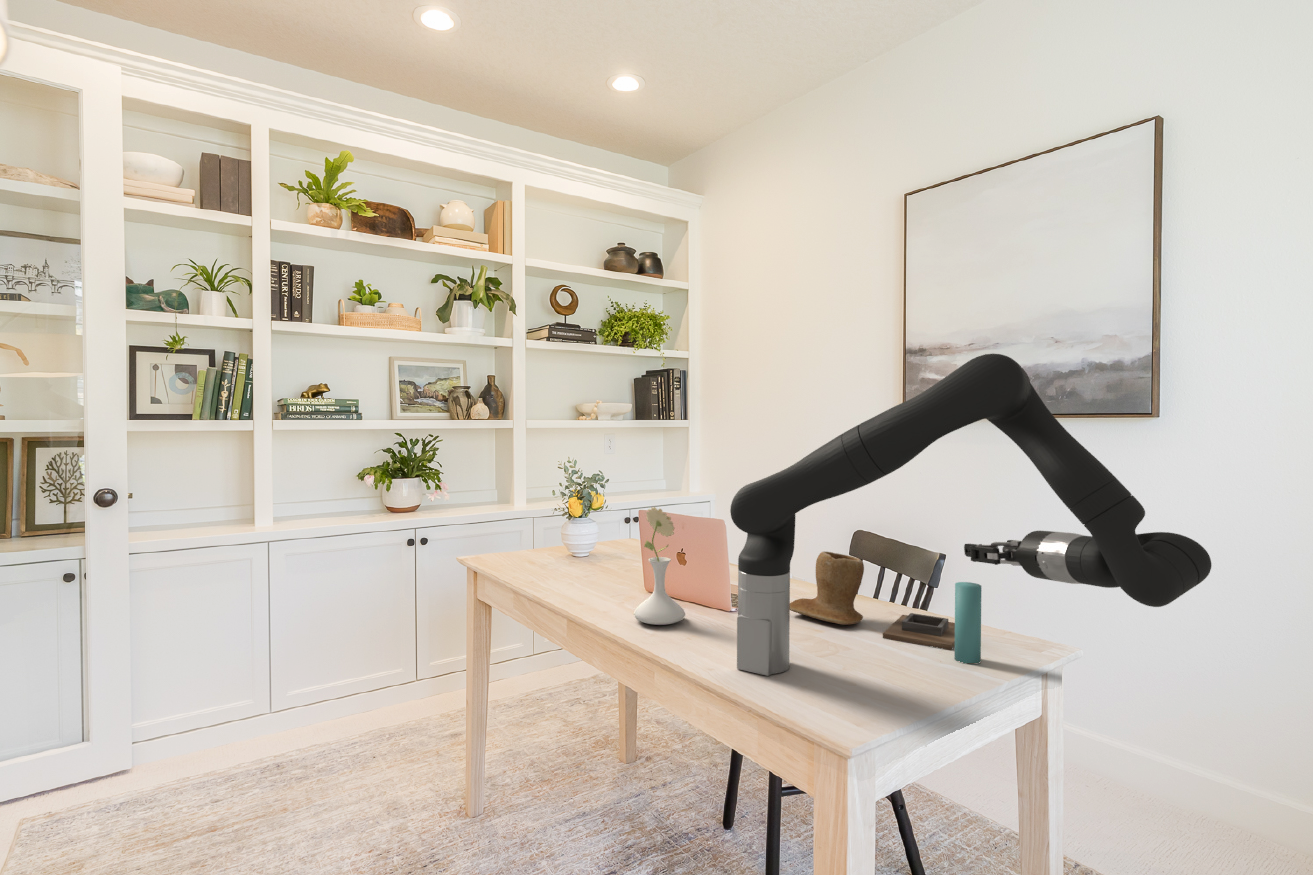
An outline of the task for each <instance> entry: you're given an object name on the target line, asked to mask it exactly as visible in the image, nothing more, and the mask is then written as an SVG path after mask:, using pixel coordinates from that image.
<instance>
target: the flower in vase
mask: <svg viewBox="0 0 1313 875" xmlns="http://www.w3.org/2000/svg"><path fill="white" fill-rule="evenodd" d="M647 511H649V512H647ZM645 513H646V516H645V517H646V521H647V522H649V525H650V526H651V527H652V529H653V534H652V537H651V542H650V541H649V540H646V541H645V543H644V545H643V546H644V548H647V549H648V550H650V551H654V553H655V557H654V556H652V557H650V558H648V562H649V563H650V565H651V567H652V570H653V576H654V579H653V580H654V588H653V592H652V593H651V595H650V596H648V597H647V598H646V599H645V600H643V601H642V602H641V603H639V605H638V606H637V607H636V608H635V609H634V612H633V615H634V618H635V619H636V620H637V621H638V622H641V623H644V624H648V625H657V626H662V625H663V626H664V625H672V624H676V623H679V622H680V621H683V619H684V618H685V616H686V611H685V609H684V608H683V607H682V606H681V605H680V604H679V603H678V602H676V600H674V599H673V598H672V597H671V596H670V595H669V594H668V593H667V591H666V585H665V584H666V583H665V581H666V580H665V579H666V573H667V569H668V565H669V563H670V562H671V560H672V559H671V558H670V557H669V558H668V557H666V556H665V557H664V556H659V554H658V553H659V552H661V551H663V550H665V549H666V548H668V547H669V544H666V546H665V547H662V548H660V549H658V550H657V551H656V547H655V545H654V539H655V534H656V533H658V534H660V535H662V536H665V537H667V538H668V537H671V536H672V535H674V534H675V533H674V530H675V526H674V522H673V521H672V517H671V516H670V515H668V514H667V513H666V512H664V511H663V509H662V508H658V509H657V507H656V506H653V507H651V508H648V509H647V510H646V511H645Z"/></svg>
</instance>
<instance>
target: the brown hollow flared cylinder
mask: <svg viewBox="0 0 1313 875" xmlns="http://www.w3.org/2000/svg"><path fill="white" fill-rule="evenodd" d="M815 561H816V562H815V581H816V582H815V583H816V587H817V588H816V589H817V593H816V594H817V596H816V597H814V598H803V597H802V598H798V599H795V600H793V601H791V602H790V612H793V613H797V614H800V615H803V616H805V617H809V618H813V619H816V620H819V621H823V622H827V623H833V624H837V625H855V624H858V623H860V622H862V620H863V619H864V618H863V617H864V616H863V614H861V613H860V612H858V611H857V610H856V609H855V605H854V604H855V600H856V596H857V594H858V592H859V590H860V587H861V585H862V580H863V576H864V572H865V565H864V562H863V561H862V560H861V559H860V558H858V557H855V556H852V555H847V554H843V553H842V554H841V553H839V552H838V553H837V552H836V553H835V552H831V551H821V552H820V553H819V555H818V556H817V558H816V560H815Z"/></svg>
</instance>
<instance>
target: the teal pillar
mask: <svg viewBox="0 0 1313 875" xmlns="http://www.w3.org/2000/svg"><path fill="white" fill-rule="evenodd" d="M954 623H955V646H954V660H955V661H957V662H958V661H960V662H959V663H961V662H963V663H962V664H965V663H979V662H980V661H981V660H982V658H981V657H982V585H981V584H979V583H975V582H969V581H958V582H955V583H954ZM981 662H982V661H981ZM979 664H980V663H979Z"/></svg>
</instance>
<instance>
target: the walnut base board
mask: <svg viewBox="0 0 1313 875" xmlns="http://www.w3.org/2000/svg"><path fill="white" fill-rule="evenodd" d="M882 639H886V640H891V641H896V642H897V641H898V642H903V643H909V644H914V645H920V646H925V647H930V646H933V647H932V648H936V647H938V648H937V649H941V648H943V650H948V651H952V650H953V649H954V648H955V622H952V621H949V618H945V617H940V616H934V615H933V616H932V615H926V614H919V613H913V612H910V613H909V614H901V615H900V616H899V617H898V618H897V619H896V620H895V621H894V622H893V623H892V624H891V625H890V626H889V627H888V628H886V629H885V630H884V631H883V632H882ZM952 648H953V649H952Z"/></svg>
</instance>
